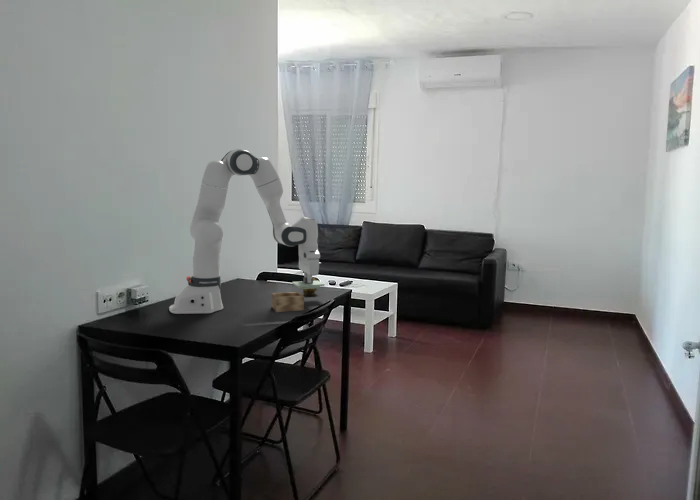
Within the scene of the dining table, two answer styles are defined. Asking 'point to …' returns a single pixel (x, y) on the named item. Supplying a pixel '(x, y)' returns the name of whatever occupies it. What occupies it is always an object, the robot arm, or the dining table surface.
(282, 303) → the box
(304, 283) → the lid
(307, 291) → the potato
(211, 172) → the robot arm
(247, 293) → the dining table surface
